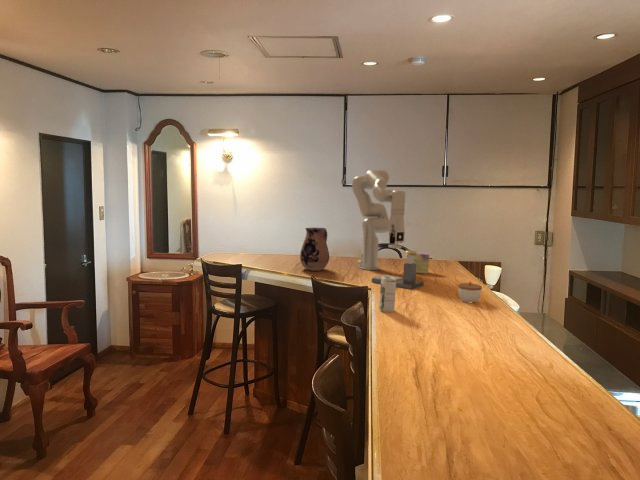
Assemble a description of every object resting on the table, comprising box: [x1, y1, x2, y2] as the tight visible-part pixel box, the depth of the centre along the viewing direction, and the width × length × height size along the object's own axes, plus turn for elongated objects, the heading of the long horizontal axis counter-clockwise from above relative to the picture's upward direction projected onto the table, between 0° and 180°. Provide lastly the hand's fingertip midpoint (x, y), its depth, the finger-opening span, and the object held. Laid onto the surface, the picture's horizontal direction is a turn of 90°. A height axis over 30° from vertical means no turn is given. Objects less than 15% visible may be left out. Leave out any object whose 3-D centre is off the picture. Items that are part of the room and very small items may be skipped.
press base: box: [371, 262, 424, 290], centre depth 280 cm, size 24×14×12 cm, turn 53°
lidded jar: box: [457, 281, 483, 303], centre depth 246 cm, size 11×11×9 cm
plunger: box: [404, 250, 418, 264], centre depth 275 cm, size 6×6×12 cm
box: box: [414, 252, 430, 274], centre depth 316 cm, size 10×6×12 cm, turn 84°
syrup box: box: [378, 276, 397, 313], centre depth 224 cm, size 6×6×14 cm
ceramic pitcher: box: [299, 227, 330, 272], centre depth 313 cm, size 18×21×25 cm
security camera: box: [387, 230, 406, 249], centre depth 295 cm, size 6×7×10 cm
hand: (395, 242), depth 295 cm, fingers closed on security camera, 8 cm apart
